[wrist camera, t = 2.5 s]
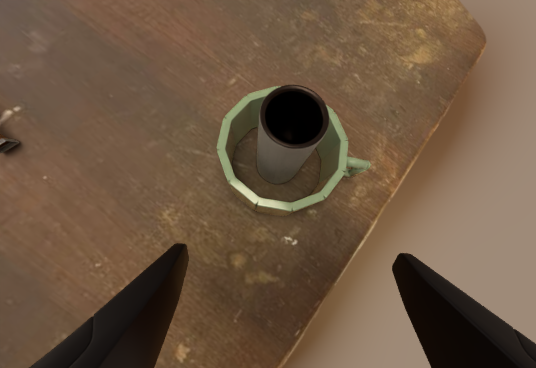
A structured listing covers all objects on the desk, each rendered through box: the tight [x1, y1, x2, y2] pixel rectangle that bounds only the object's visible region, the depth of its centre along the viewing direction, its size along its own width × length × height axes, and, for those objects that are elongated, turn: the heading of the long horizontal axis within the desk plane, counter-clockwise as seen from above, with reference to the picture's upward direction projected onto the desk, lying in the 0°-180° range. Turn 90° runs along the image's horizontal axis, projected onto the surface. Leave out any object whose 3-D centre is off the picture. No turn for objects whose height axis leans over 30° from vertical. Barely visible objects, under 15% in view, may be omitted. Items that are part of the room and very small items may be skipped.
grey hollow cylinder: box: [256, 85, 329, 184], centre depth 19 cm, size 4×4×10 cm
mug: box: [217, 86, 371, 216], centre depth 21 cm, size 14×11×6 cm
